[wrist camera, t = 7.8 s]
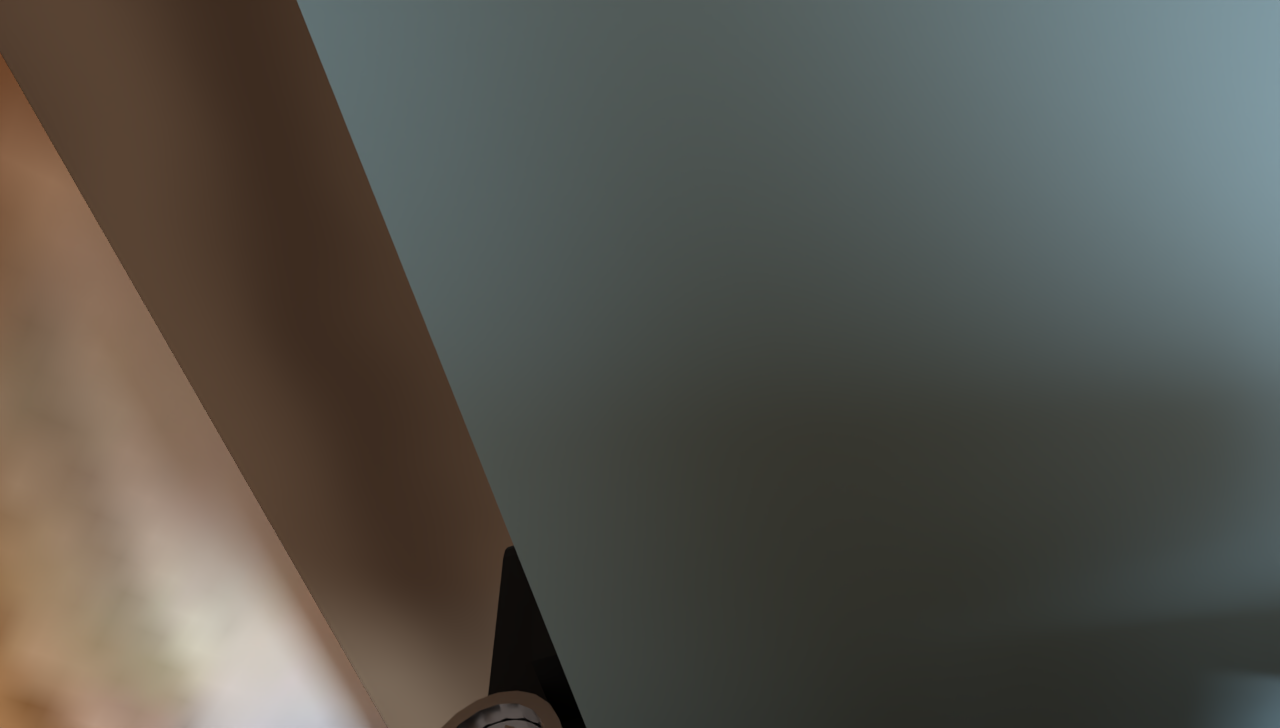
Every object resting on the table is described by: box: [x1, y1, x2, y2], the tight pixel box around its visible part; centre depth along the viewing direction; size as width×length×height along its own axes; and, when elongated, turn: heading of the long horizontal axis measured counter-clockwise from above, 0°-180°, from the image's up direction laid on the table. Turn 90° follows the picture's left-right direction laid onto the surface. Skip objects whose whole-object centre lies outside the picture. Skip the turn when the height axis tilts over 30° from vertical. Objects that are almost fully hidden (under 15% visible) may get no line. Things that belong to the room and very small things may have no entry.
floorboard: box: [0, 0, 514, 728], centre depth 16 cm, size 16×38×3 cm, turn 14°
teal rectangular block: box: [297, 0, 1280, 728], centre depth 8 cm, size 5×18×6 cm, turn 14°
